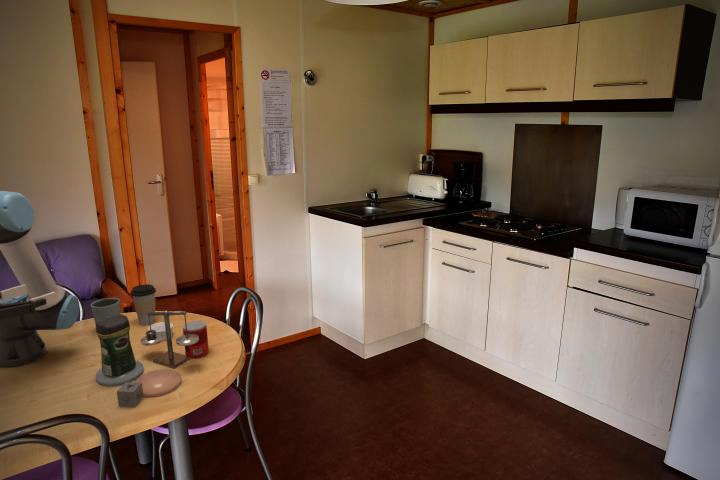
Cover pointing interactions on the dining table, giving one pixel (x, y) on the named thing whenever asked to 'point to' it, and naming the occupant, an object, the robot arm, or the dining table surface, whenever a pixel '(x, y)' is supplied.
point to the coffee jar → (115, 345)
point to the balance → (169, 341)
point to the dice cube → (130, 394)
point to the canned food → (202, 345)
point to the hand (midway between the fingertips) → (40, 292)
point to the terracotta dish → (159, 382)
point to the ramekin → (161, 329)
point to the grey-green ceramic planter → (105, 308)
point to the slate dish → (120, 376)
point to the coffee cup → (144, 302)
